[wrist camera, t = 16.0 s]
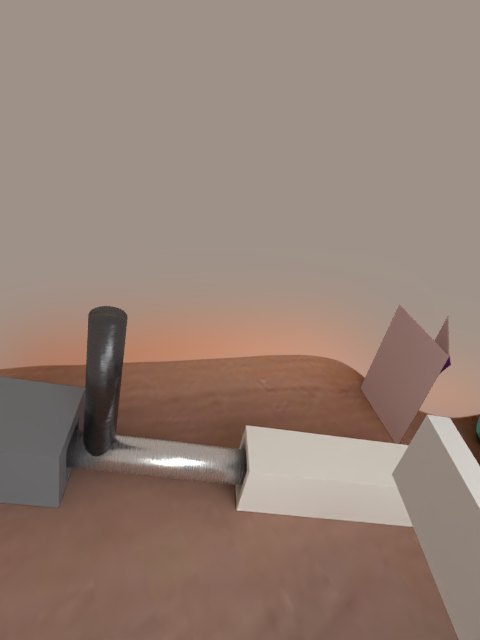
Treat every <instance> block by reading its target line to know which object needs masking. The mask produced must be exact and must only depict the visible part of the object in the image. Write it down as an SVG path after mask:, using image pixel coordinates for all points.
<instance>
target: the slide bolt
mask: <svg viewBox="0 0 480 640" xmlns="http://www.w3.org/2000/svg"><path fill="white" fill-rule="evenodd" d="M126 326H127V314H126V313H125V312H124V311H123V310H121V309H119V308H115V307H110V306H102V307H97V308H95V309H93V310H91V311H90V313H89V319H88V341H87V363H86V385H85V406H84V428H83V430H74V432H73V434H72V437H71V440H70V443H69V445H68V448H67V453H66V467H67V468H76V469H86V470H96V471H106V472H115V473H125V474H135V475H145V476H154V477H164V478H174V479H184V480H193V481H203V482H213V483H223V484H233V485H243V482H244V479H245V476H246V473H247V459H246V449H239V448H230V447H222V446H213V445H204V444H196V443H187V442H178V441H170V440H161V439H152V438H144V437H135V436H126V435H118V434H116V427H117V417H118V407H119V397H120V387H121V377H122V367H123V355H124V346H125V336H126Z"/></svg>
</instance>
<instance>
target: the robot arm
mask: <svg viewBox="0 0 480 640" xmlns="http://www.w3.org/2000/svg"><path fill="white" fill-rule="evenodd" d="M392 476H393V478H394V481H395V483H396V486H397V488H398V491H399V493H400V496H401V498H402V500H403V503H404V505H405V508H406V510H407V513H408V515H409V518H410V520H411V523H412V525H413V528H414V530H415V533H416V535H417V538H418V540H419V543H420V545H421V548H422V550H423V553H424V555H425V558H426V560H427V563H428V565H429V568H430V570H431V573H432V575H433V577H434V580H435V582H436V585H437V587H438V590H439V592H440V595H441V597H442V600H443V602H444V605H445V607H446V610H447V612H448V615H449V617H450V620H451V622H452V625H453V627H454V630H455V632H456V635H457V637H458V640H480V466H479V464H478V463H477V461H476V459H475V458H474V456H473V454H472V453H471V451H470V450H469V448H468V446H467V445H466V443H465V441H464V440H463V438H462V437H461V435H460V433H459V432H458V430H457V429H456V427H455V425H454V424H453V422H452V420H451V419H450V418H448V417H441V416H434V415H426V417H425V419H424V420H423V422H422V424H421V426H420V427H419V429H418V431H417V432H416V434H415V436H414V437H413V439H412V441H411V443H410V444H409V446H408V448H407V449H406V451H405V453H404V454H403V456H402V458H401V459H400V461H399V463H398V465H397V466H396V468H395V470H394V471H393V473H392Z"/></svg>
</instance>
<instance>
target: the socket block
mask: <svg viewBox="0 0 480 640" xmlns="http://www.w3.org/2000/svg"><path fill="white" fill-rule="evenodd" d="M84 406H85V387H77V386H69V385H62V384H54V383H46V382H39V381H31V380H23V379H15V378H8V377H0V503H8V504H19V505H31V506H42V507H53V508H59V506H60V503H61V500H62V497H63V494H64V491H65V488H66V485H67V482H68V479H69V476H70V473H71V470H72V468H67V467H66V453H67V448H68V445H69V443H70V440H71V437H72V434H73V432H74V430H83V428H84Z"/></svg>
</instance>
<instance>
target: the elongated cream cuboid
mask: <svg viewBox="0 0 480 640" xmlns="http://www.w3.org/2000/svg"><path fill="white" fill-rule="evenodd" d="M408 446H409V445H402V444H394V443H386V442H378V441H369V440H361V439H353V438H345V437H337V436H329V435H321V434H313V433H305V432H297V431H289V430H280V429H272V428H264V427H256V426H248V425H246V427H245V430H244V434H243V437H242V440H241V443H240V447H239V449H246V459H247V473H246V476H245V479H244V482H243V485H235V487H236V510H238V511H249V512H260V513H270V514H281V515H292V516H302V517H313V518H324V519H334V520H345V521H356V522H367V523H377V524H388V525H399V526H409V527H413V525H412V523H411V520H410V518H409V515H408V513H407V510H406V508H405V505H404V503H403V500H402V498H401V496H400V493H399V491H398V488H397V486H396V483H395V481H394V478H393V476H392V473H393V471H394V470H395V468H396V466H397V465H398V463H399V461H400V459H401V458H402V456H403V454H404V453H405V451H406V449H407V448H408Z"/></svg>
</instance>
